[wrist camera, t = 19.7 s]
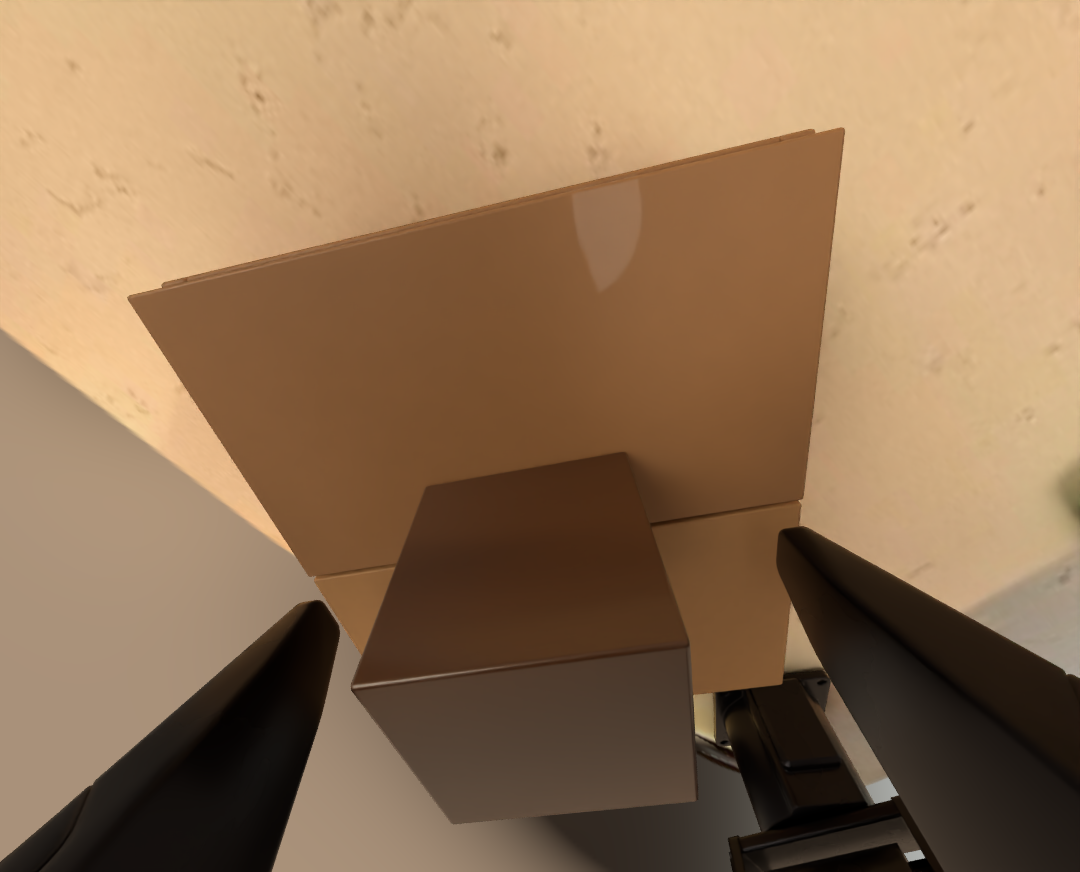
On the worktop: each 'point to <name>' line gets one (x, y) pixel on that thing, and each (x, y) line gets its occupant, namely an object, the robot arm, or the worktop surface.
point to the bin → (524, 347)
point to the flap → (698, 585)
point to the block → (534, 648)
